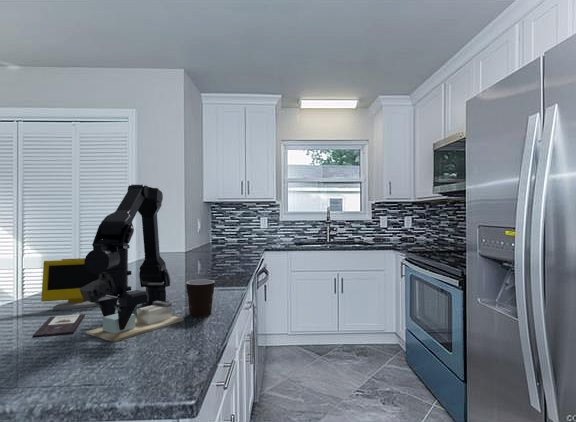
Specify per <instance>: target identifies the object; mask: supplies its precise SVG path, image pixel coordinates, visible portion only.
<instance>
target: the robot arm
mask: <svg viewBox="0 0 576 422" xmlns="http://www.w3.org/2000/svg"><path fill="white" fill-rule="evenodd" d="M163 196H164V195H163V192H162V191H161V190H160V189H159V188H158V187H151V186H148V185H145V184H131V185H128V187H127V192H126V193H125V195H124V197H123V199H122V200H121V201H120V203H119V205H118V207H117V208H116V210H115V211H114V212H112V213H110V214H107V215H106V216H105V217H104V219H102V221H101V222H100V224H99V225H98V228H97V229H96V233H95V235H94V239H93V242H92V245H91V246H92V248H93V249H92V250H91V251H89V252H88V253H87V254H86V256H85V257H84V258H85V260H84V263H85V267H86V269H87V270H88V271H89V272H91V273H93V274H99V279H98V280H96V281H93V282H91V283H89V284H87V285H85V286H84V287H82V288H80V292H81V295H82V297H83V300H84V301H89V302H91V303H93V302H94V303H95V304H97V305H98V306H97V307H99V309H100V311H101V313H102V318H103V317H104V316H108V315H112V314H116V310H117V313H118V319H119V328H120V330H124V329H125V327H126V325H127V323H128V321H129V319H130V317H131V315H132V314H134V311H135V309H137V306H138V305H142V306H146V307H147V306H151V305H153V302H155V301H162V302H167V303H170V302H169V301H168V300H167V291H166V288H167V287H170V286H171V277H170V274H169V272H168V269H167V267H166V266H167V265H166V261H164V259H163V258H162V256H161V255H160V240H159V239H160V238H159V227H158V225H159V223H158V212H160V209H161V207H162V202H163ZM137 214H139V215H140V216H141V223H142V224H141V225H142V236H143V239H142V240H143V251H144V259H143V262H142V263H141V265H140V267H139V273H138V274H139V285H140V287H141V288H145V290H141V289H140V290H139V289H134V290H132V286H130V285H128V283H129V282H128V281H129V276H131V275H132V271H131V270H128V269H129V265H128V264H129V249H130V242H131V239H132V237H133V235H134V231H135V229H134V225H133V221H134V218H135V217H136V215H137Z"/></svg>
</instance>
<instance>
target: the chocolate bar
mask: <svg viewBox="0 0 576 422" xmlns="http://www.w3.org/2000/svg"><path fill="white" fill-rule="evenodd" d="M85 317H86V314H84V313H82V314H71V315H70V314H69V315H61V316H60V315H57V316H50V317H49V318H48V319H47V320H46V321H45V322H44V323H42V325H41V326H40V327H39V328H38V329H37V330H36V331H35V332H34V333H33V334H32V338H34V339H35V338H42V337H45V338H46V337H53V336H54V337H55V336H65V335H66V336H67V335H74V334H75V332H76V331H77V329H78V328H79V326H80V324H81V322H82V321H83V320H84V319H85Z"/></svg>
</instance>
